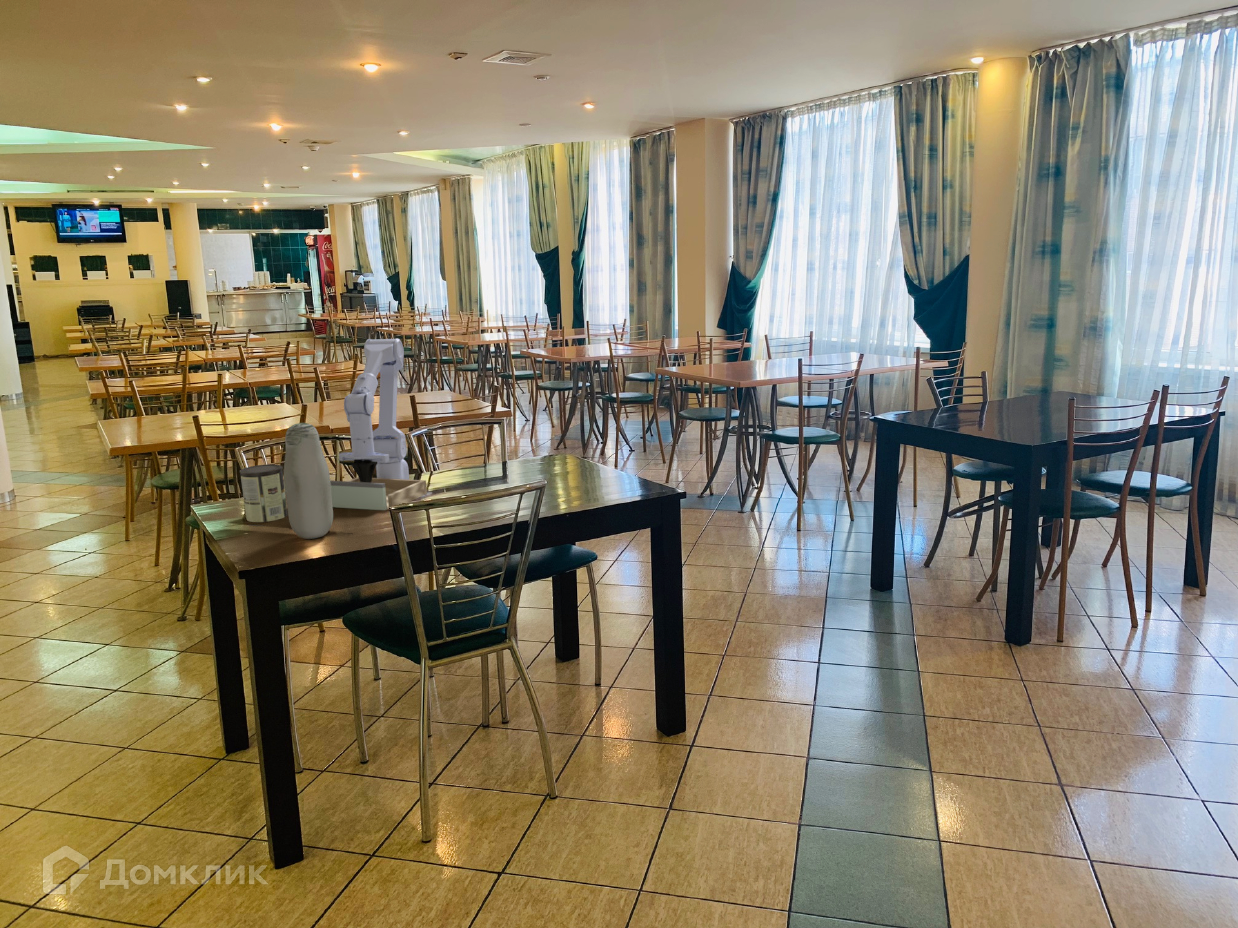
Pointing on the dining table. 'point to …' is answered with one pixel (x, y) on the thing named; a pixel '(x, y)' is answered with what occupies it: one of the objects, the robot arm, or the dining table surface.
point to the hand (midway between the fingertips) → (366, 487)
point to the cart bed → (400, 489)
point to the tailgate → (358, 495)
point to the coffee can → (263, 493)
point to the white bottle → (307, 483)
